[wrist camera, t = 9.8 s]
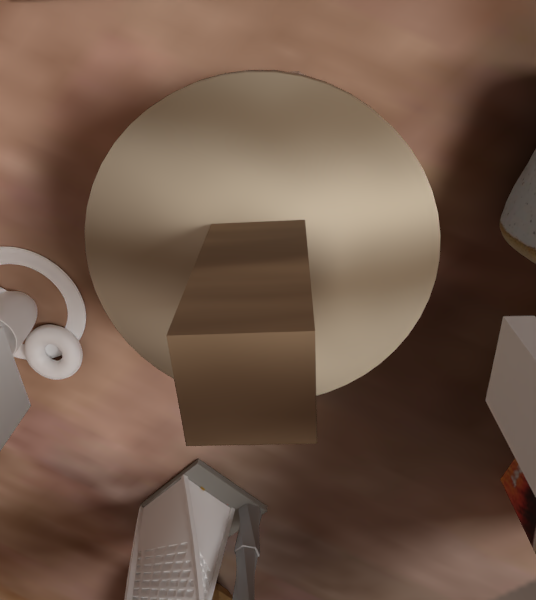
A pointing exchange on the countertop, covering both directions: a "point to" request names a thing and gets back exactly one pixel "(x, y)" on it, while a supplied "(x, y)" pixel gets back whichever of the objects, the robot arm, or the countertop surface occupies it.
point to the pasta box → (521, 499)
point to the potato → (221, 593)
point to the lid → (261, 248)
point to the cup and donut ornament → (47, 338)
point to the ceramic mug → (522, 213)
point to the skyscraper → (193, 538)
